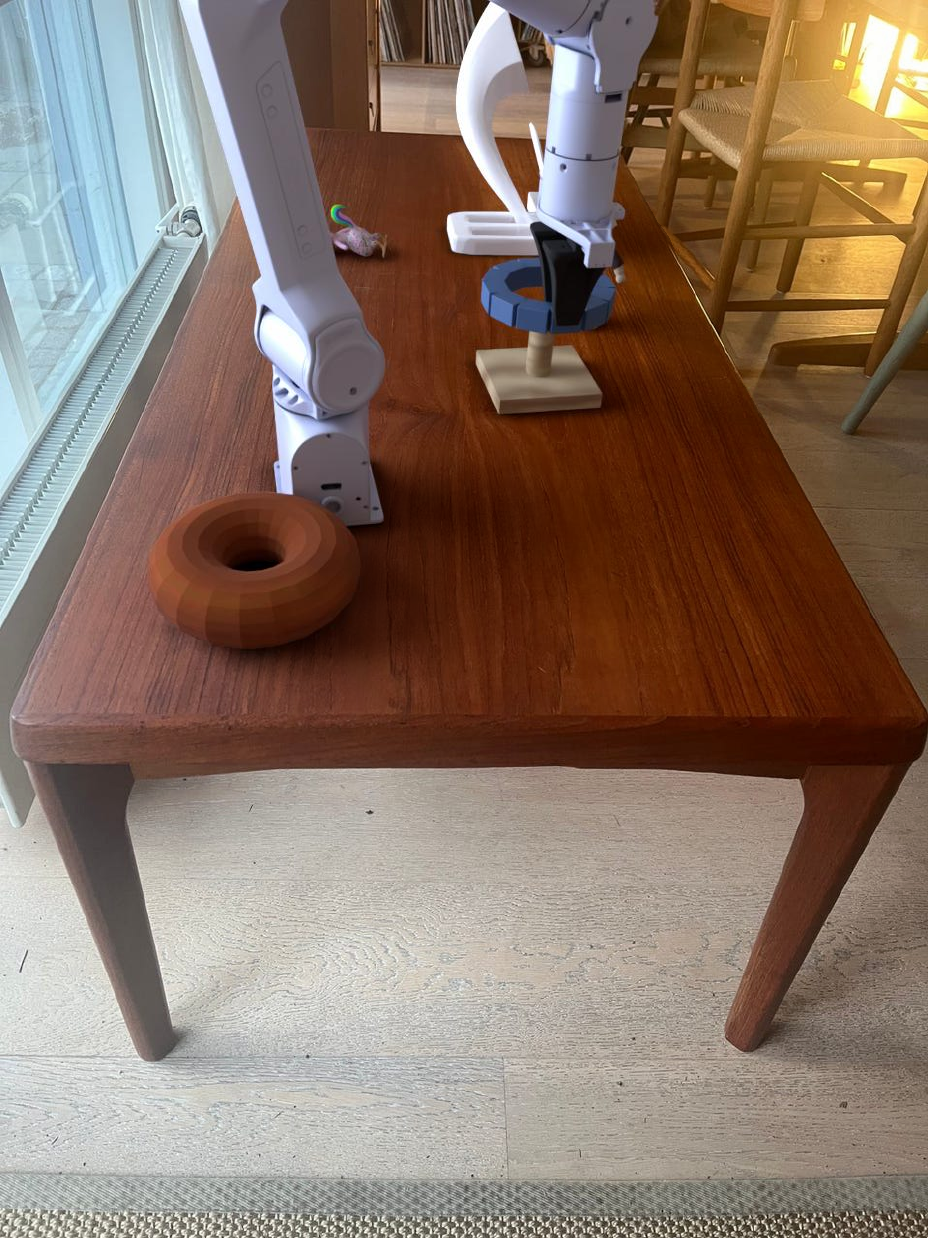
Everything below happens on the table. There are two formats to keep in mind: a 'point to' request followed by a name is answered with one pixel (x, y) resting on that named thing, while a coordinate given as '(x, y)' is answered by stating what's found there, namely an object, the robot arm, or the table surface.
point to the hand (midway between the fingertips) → (562, 317)
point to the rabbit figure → (354, 235)
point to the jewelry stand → (492, 140)
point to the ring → (534, 312)
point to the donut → (257, 600)
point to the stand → (537, 377)
